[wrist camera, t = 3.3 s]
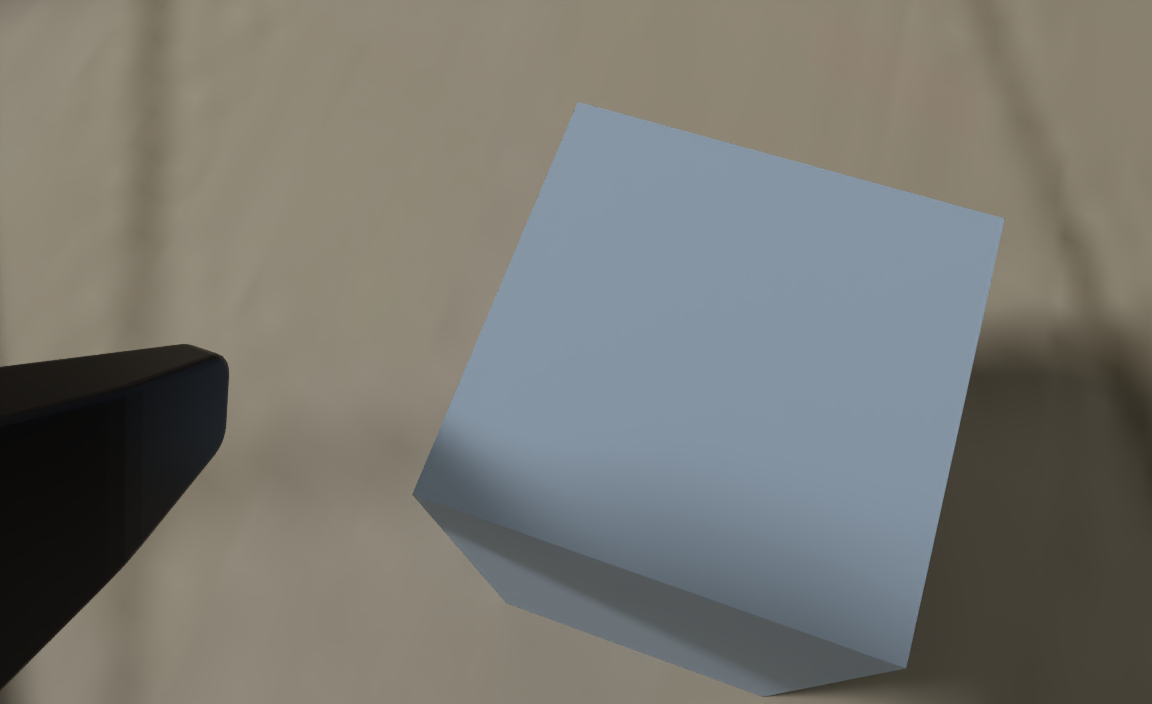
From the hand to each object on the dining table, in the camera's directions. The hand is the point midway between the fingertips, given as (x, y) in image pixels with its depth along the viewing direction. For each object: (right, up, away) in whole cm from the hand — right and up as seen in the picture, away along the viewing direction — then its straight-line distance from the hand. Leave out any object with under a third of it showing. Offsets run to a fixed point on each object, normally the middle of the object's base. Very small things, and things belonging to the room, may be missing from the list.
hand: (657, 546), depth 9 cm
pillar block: (+1, -2, +10) cm, 10 cm away
